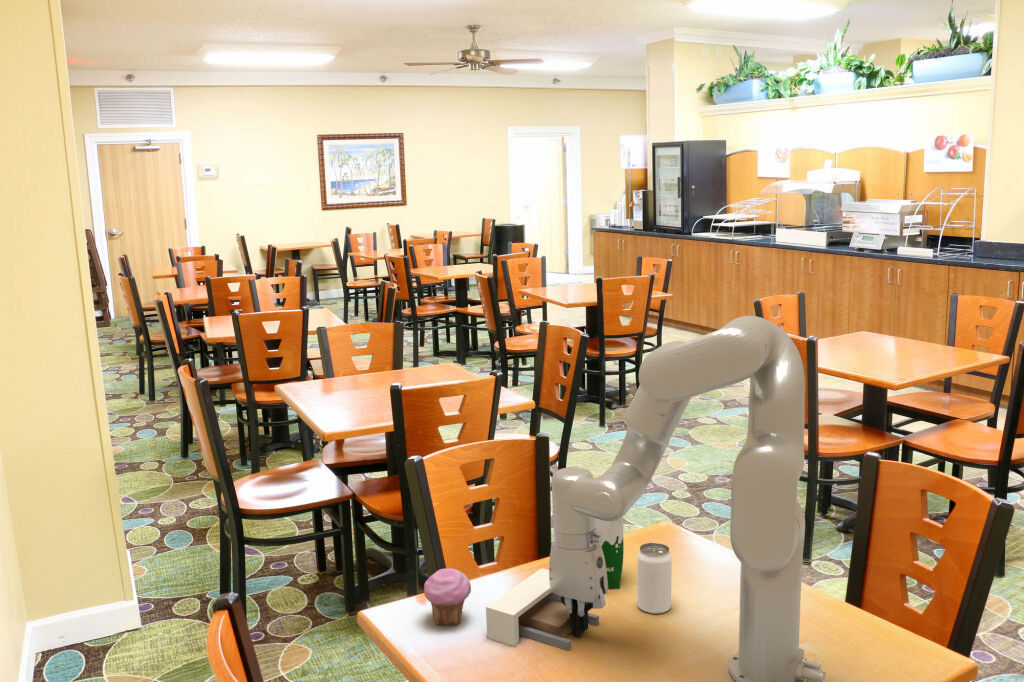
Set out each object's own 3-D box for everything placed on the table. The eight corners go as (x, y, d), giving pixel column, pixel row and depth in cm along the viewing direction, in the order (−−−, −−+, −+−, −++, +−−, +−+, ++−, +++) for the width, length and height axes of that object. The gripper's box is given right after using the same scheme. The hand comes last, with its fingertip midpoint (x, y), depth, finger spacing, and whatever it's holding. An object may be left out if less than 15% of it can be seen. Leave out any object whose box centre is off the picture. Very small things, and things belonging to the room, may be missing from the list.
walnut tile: (581, 623, 162) (580, 608, 162) (559, 642, 156) (559, 627, 155) (531, 609, 169) (531, 594, 168) (508, 626, 162) (508, 611, 162)
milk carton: (580, 589, 176) (579, 496, 172) (581, 570, 185) (580, 480, 181) (624, 590, 175) (623, 496, 171) (623, 571, 184) (622, 481, 180)
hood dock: (608, 615, 165) (608, 585, 164) (557, 660, 150) (556, 628, 149) (542, 596, 173) (541, 568, 172) (487, 637, 158) (485, 607, 157)
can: (670, 616, 164) (671, 556, 162) (636, 613, 166) (636, 554, 163) (671, 600, 170) (672, 542, 168) (638, 597, 172) (638, 540, 170)
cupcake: (422, 632, 161) (420, 581, 159) (428, 609, 169) (426, 561, 167) (470, 631, 160) (468, 581, 159) (473, 609, 169) (472, 561, 167)
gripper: (622, 536, 154) (625, 632, 157) (550, 523, 162) (555, 614, 165) (602, 552, 148) (606, 651, 151) (528, 537, 156) (534, 632, 159)
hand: (579, 632), depth 158 cm, fingers closed
